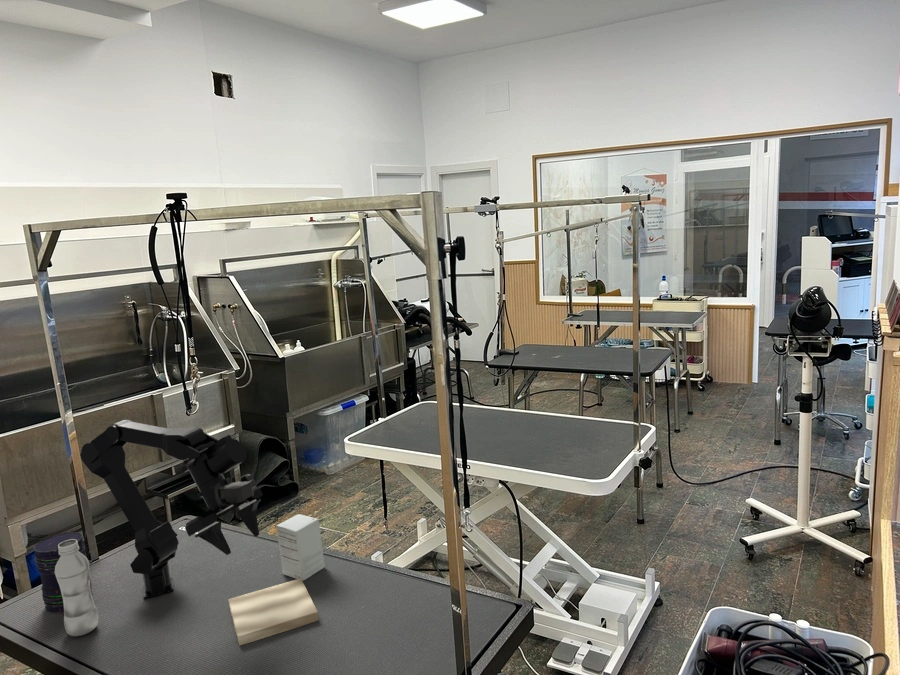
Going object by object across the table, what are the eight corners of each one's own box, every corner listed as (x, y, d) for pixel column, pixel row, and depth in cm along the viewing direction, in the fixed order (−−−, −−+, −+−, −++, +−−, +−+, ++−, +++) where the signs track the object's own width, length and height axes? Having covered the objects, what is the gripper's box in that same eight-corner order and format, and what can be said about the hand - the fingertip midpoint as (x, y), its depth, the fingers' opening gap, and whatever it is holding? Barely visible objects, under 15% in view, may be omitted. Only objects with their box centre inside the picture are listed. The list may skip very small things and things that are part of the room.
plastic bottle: (64, 644, 136) (47, 553, 133) (68, 627, 142) (52, 540, 139) (99, 634, 138) (83, 545, 135) (101, 618, 144) (86, 533, 141)
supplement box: (304, 560, 163) (298, 512, 162) (325, 567, 159) (319, 518, 157) (281, 574, 158) (275, 524, 156) (302, 582, 153) (296, 531, 151)
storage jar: (45, 599, 155) (34, 540, 152) (92, 586, 160) (82, 528, 157) (44, 619, 146) (32, 556, 144) (94, 604, 151) (83, 543, 149)
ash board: (229, 607, 145) (228, 599, 144) (301, 586, 151) (300, 578, 151) (239, 645, 130) (238, 636, 130) (318, 620, 137) (317, 611, 137)
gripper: (202, 482, 133) (238, 551, 132) (262, 453, 150) (294, 514, 149) (169, 502, 138) (203, 569, 137) (230, 472, 155) (261, 531, 154)
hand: (243, 544), depth 144 cm, fingers open, 9 cm apart
